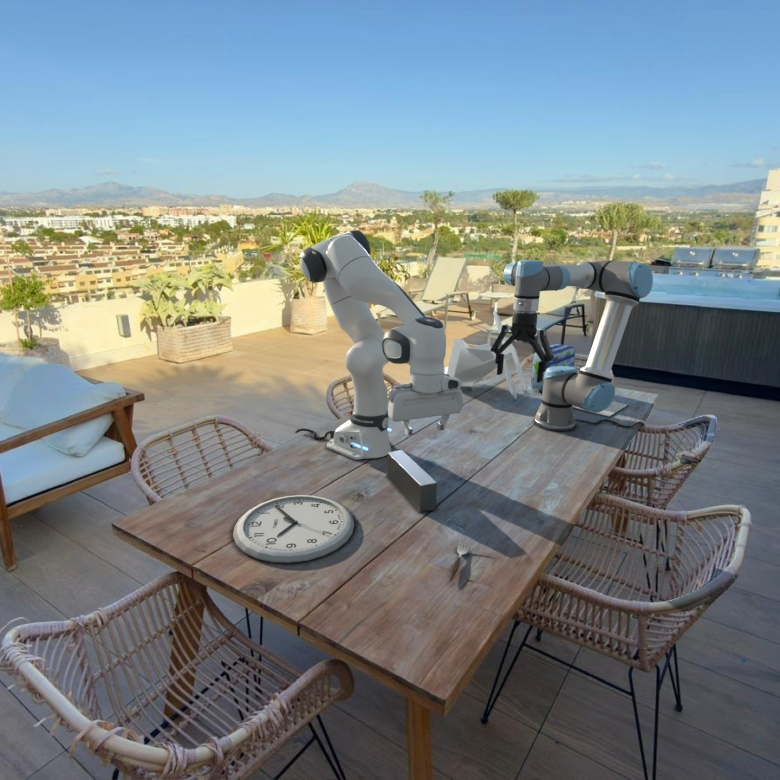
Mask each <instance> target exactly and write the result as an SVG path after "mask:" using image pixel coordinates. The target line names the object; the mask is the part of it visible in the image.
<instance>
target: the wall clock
mask: <svg viewBox="0 0 780 780" xmlns="http://www.w3.org/2000/svg"><path fill="white" fill-rule="evenodd" d="M354 528H355V521H354V517H353V514H352V513H351V512H350V510H348V509H347V507H345V506H343V505H342V504H340V503H339V502H337V501H335V500H333V499H332V500H331V499H328V498H327V497H322V496H317V495H305V494H297V495H286V496H281V497H277V498H272V499H269V500H266V501H264V502H261V503H259V504H256V505H255V506H253V507H252V508H250V509H249V510H247V511H246V512H245V513H243V514H242V516H241V517H239V518H238V520H237V522H236V524H235V525H234V527H233V533H232V536H233V537H232V538H233V540H234V542H235V545H236V547H237V548H239V549H240V550H241V551H242V552H243V553H244V554H246V555H248V556H250V557H252V558H254V559H255V560H261V561H265V562H270V563H283V564H284V563H285V564H292V563H301V562H308V561H311V560H315V559H318V558H321V557H325V556H326V555H328V554H331V553H333V552H335V551H337V550H338V549H339V548H341V547H342V546H343V545H345V544H346V543H347V542H348V541H349V540H350V538H351V537H352V535H353V534H354Z"/></svg>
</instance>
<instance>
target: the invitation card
mask: <svg viewBox="0 0 780 780" xmlns="http://www.w3.org/2000/svg"><path fill="white" fill-rule="evenodd" d="M628 406H629V404H627V403H623V402H618V401H614V400H613V401H612V402H611V404H610V405H609V406H608V407H607V408H606V409H605V410H603V411H601V412H592V411H587V410H584V409H582V408H579V407H577V406H574V407H573V409H575V410H581V411H584V412H587V413H593V414H596V415H600V416H604V417H608V418H609V417H611V416H613V415H614V414H616V413H617V412H619V411H621V410H623V409H624V408H626V407H628Z"/></svg>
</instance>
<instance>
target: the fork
mask: <svg viewBox="0 0 780 780" xmlns="http://www.w3.org/2000/svg"><path fill="white" fill-rule="evenodd" d="M465 538H466V540H465ZM462 539H463V540H462ZM468 539H469V541H468ZM470 545H471V537H469V538H468V536H464V537H463V535H461V536H460V540H459V543H458V545H457V549H456V550H457V553H458V557H457V558H456V560H455V562H454V564H453V566H452V571H451V575H450V577H449V582H451V581H452V580H453V578H454V576H455V575H456V573H457V571H458V569H459V567H460V563H461V558H462V556H465V555H468V553H469V551H470Z"/></svg>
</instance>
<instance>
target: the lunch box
mask: <svg viewBox="0 0 780 780" xmlns="http://www.w3.org/2000/svg"><path fill="white" fill-rule="evenodd" d="M541 348H542V350H543V351H544V349H543V347H541ZM550 348H551V350H552V353H553V356H554V359H553V360H551V361H548V362H547V368H549V367H555V366H570V367H575V360H576V358H575V357H576V349H575V346H572V345H565V344H560V343H555V344H552V345H550ZM544 353H545V352H544ZM540 361H541V359H540V358H539V356H538V355H537V353H536V352H535V353H534V355H533V358H532V363H531V364H532V365H531V376H530V377H531V378H530V387H531V389H532V390H536V391H539V392H540V391H541V392H542V391H543V380H544V379H542V381H541V382H539V383H538V382H537V375H538V365H539V362H540ZM544 375H545V372H543V378H544Z"/></svg>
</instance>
